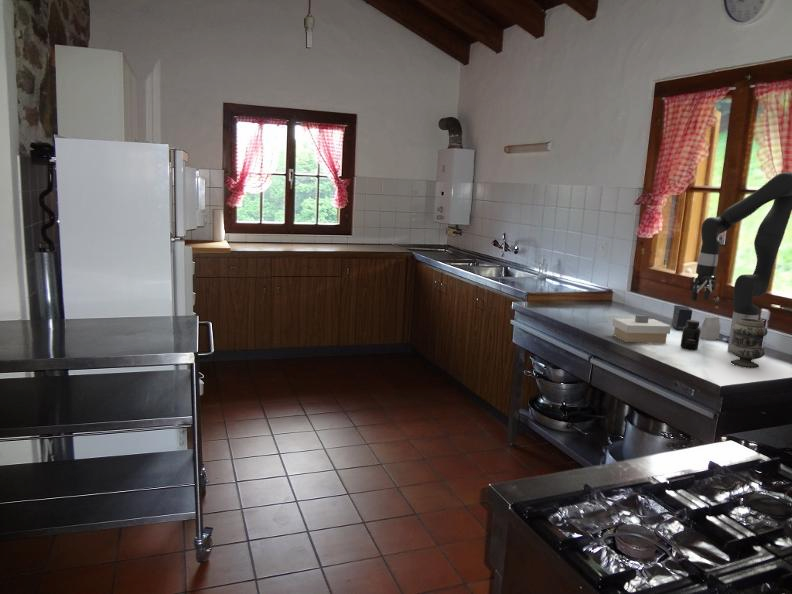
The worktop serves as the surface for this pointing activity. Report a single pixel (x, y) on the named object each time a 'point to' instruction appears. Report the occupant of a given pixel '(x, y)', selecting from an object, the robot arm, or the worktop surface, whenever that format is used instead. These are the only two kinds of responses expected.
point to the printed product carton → (710, 328)
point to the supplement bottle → (690, 335)
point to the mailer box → (640, 336)
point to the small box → (681, 317)
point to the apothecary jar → (748, 342)
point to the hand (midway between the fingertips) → (700, 300)
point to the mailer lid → (641, 325)
